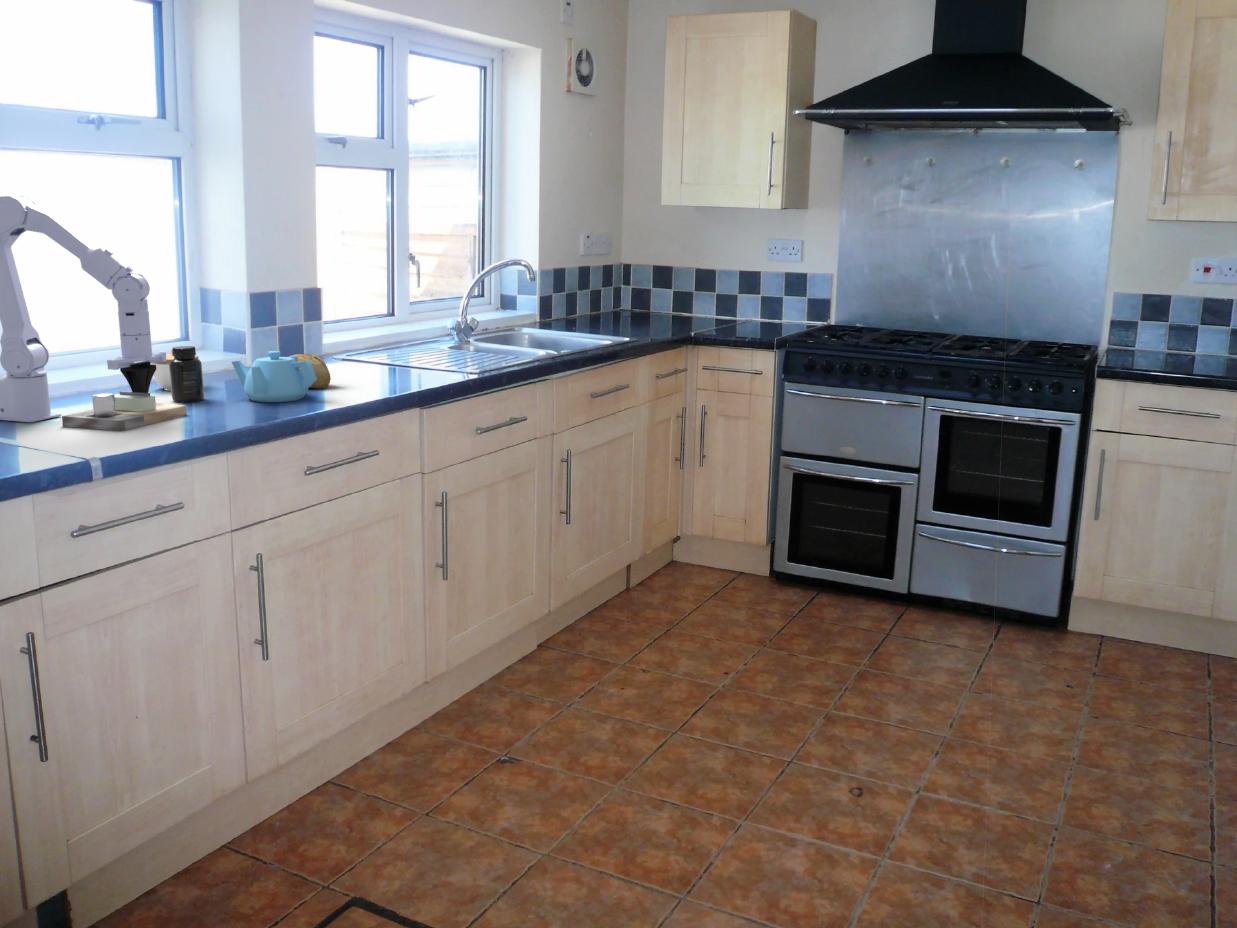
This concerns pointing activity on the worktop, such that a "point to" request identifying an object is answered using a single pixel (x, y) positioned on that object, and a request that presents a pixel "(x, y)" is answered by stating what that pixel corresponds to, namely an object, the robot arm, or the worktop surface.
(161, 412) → the housing
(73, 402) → the worktop surface
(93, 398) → the peg
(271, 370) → the teapot
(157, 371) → the lidded jar
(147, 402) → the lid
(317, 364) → the bread roll
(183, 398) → the supplement bottle
